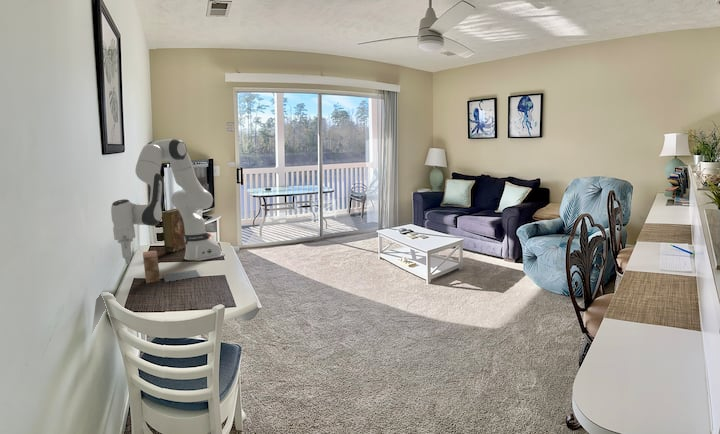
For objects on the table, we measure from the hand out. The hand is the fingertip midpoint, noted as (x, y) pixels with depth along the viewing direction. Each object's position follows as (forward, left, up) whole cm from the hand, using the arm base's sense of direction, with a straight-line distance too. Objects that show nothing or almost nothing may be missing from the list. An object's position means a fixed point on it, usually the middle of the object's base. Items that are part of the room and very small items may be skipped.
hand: (128, 263), depth 220 cm
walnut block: (-10, 0, -10) cm, 14 cm away
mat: (-23, 0, -10) cm, 25 cm away
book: (-28, -64, -10) cm, 70 cm away
